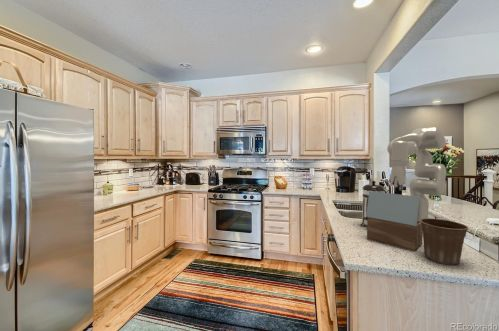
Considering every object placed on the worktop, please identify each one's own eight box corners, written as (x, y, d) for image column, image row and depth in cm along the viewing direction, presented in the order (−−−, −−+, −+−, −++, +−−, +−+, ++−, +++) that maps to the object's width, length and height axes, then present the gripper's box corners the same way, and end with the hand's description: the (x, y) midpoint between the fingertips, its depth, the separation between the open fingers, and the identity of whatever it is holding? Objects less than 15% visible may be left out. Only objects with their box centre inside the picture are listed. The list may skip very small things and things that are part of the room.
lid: (370, 191, 128) (369, 191, 127) (419, 197, 111) (419, 196, 110) (366, 216, 126) (365, 216, 125) (416, 226, 109) (416, 226, 108)
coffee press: (354, 222, 158) (355, 179, 157) (378, 223, 158) (379, 179, 157) (366, 230, 141) (367, 182, 140) (392, 231, 140) (394, 182, 139)
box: (376, 233, 135) (377, 213, 135) (422, 244, 119) (423, 221, 119) (366, 239, 126) (367, 217, 126) (414, 251, 110) (415, 226, 109)
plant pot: (472, 271, 91) (474, 231, 90) (422, 262, 98) (423, 224, 98) (459, 256, 105) (461, 221, 104) (416, 249, 113) (417, 216, 112)
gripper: (395, 163, 132) (394, 195, 133) (386, 163, 122) (385, 198, 123) (411, 164, 127) (410, 197, 127) (403, 164, 117) (401, 200, 117)
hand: (398, 197), depth 125 cm, fingers closed
